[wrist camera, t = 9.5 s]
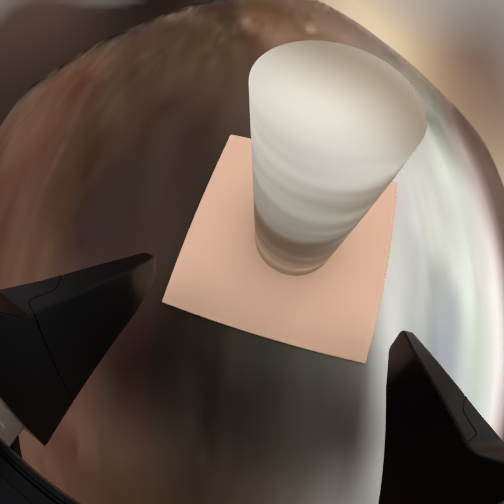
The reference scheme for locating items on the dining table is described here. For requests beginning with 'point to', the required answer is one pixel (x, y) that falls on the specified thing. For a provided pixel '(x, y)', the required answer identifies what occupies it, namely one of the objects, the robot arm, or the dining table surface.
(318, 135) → the white cylinder
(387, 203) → the placemat
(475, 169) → the dining table surface
